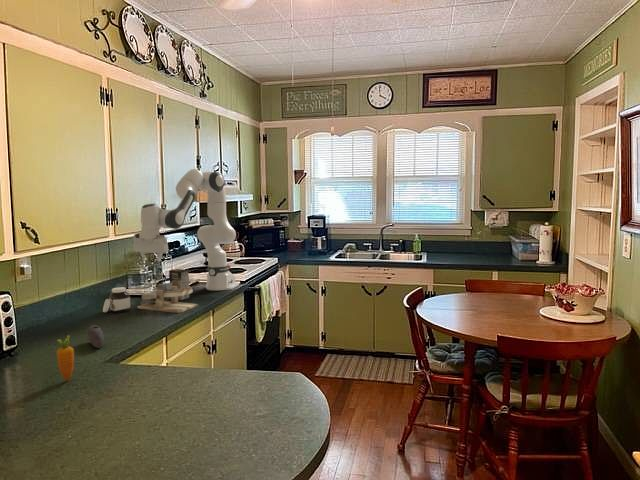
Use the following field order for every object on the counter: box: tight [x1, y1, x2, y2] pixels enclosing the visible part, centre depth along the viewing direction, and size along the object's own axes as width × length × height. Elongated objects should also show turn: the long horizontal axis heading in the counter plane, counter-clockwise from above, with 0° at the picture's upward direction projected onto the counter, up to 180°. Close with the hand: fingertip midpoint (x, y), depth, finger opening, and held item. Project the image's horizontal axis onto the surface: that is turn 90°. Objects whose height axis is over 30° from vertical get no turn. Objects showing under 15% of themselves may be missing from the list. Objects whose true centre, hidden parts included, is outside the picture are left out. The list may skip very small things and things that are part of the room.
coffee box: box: [168, 268, 190, 301], centre depth 271 cm, size 9×6×16 cm
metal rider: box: [156, 282, 173, 292], centre depth 251 cm, size 4×6×4 cm, turn 67°
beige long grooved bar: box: [141, 285, 194, 304], centre depth 251 cm, size 8×27×6 cm, turn 67°
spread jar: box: [102, 286, 131, 314], centre depth 244 cm, size 12×11×12 cm
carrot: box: [56, 335, 75, 382], centre depth 156 cm, size 5×5×15 cm
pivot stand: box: [136, 286, 199, 314], centre depth 251 cm, size 15×27×10 cm, turn 67°
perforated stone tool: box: [86, 324, 105, 349], centre depth 192 cm, size 15×5×7 cm, turn 34°
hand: (151, 261), depth 253 cm, fingers open, 8 cm apart
